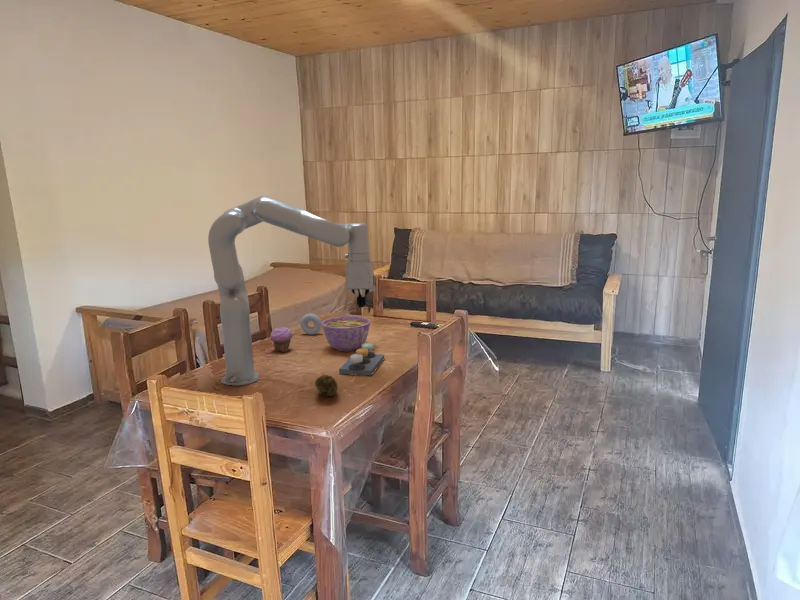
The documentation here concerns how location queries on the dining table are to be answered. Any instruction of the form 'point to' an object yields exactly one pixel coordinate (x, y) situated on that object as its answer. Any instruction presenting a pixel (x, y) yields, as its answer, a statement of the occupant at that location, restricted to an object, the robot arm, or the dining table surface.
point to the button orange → (362, 352)
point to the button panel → (362, 365)
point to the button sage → (368, 346)
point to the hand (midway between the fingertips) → (361, 306)
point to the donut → (311, 330)
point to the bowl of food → (346, 332)
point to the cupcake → (281, 339)
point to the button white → (356, 358)
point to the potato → (326, 385)
